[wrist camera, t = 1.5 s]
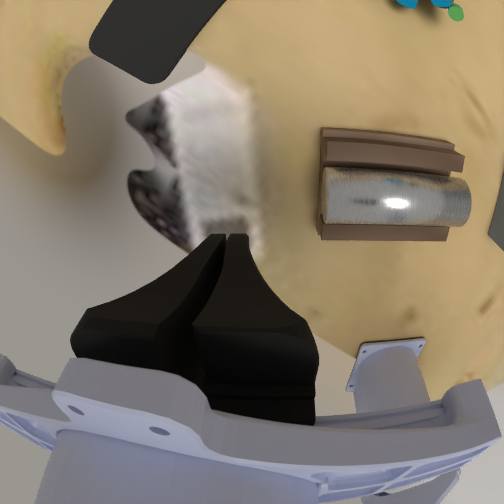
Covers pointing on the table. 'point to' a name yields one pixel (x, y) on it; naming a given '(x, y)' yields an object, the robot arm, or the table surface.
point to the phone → (150, 34)
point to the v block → (498, 220)
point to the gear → (453, 9)
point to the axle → (393, 198)
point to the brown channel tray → (384, 158)
